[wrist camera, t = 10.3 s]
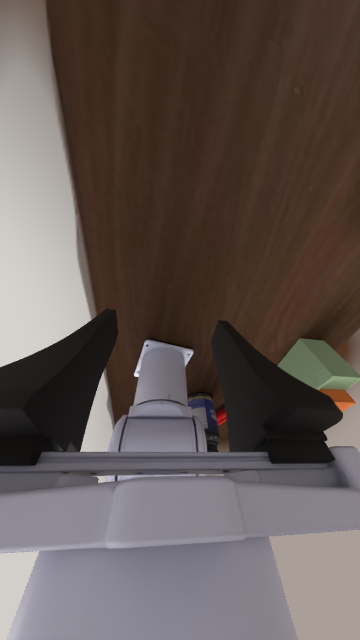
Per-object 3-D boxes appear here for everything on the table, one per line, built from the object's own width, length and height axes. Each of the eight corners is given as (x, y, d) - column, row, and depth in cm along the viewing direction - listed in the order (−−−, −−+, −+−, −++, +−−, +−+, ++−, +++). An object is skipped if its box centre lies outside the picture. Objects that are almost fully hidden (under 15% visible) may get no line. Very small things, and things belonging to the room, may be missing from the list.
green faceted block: (284, 382, 34) (306, 418, 29) (264, 380, 34) (283, 417, 28) (324, 340, 27) (363, 378, 21) (299, 337, 27) (333, 376, 21)
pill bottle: (214, 402, 38) (227, 464, 30) (189, 407, 39) (194, 468, 30) (209, 389, 35) (221, 455, 26) (181, 394, 36) (184, 460, 27)
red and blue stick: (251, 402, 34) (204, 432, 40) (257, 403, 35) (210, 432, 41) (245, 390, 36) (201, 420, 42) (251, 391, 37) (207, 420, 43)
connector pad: (313, 403, 27) (326, 422, 25) (291, 403, 27) (302, 421, 25) (339, 383, 24) (356, 402, 22) (314, 382, 23) (329, 401, 21)
